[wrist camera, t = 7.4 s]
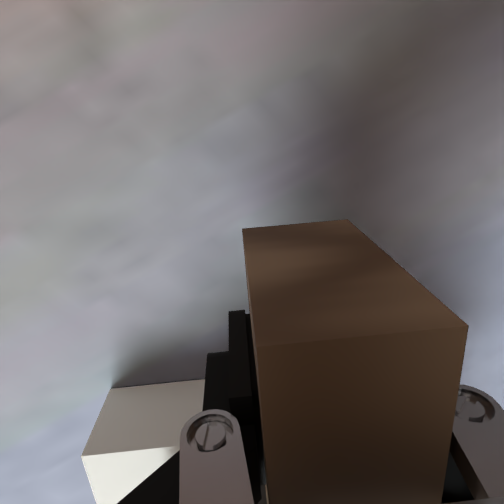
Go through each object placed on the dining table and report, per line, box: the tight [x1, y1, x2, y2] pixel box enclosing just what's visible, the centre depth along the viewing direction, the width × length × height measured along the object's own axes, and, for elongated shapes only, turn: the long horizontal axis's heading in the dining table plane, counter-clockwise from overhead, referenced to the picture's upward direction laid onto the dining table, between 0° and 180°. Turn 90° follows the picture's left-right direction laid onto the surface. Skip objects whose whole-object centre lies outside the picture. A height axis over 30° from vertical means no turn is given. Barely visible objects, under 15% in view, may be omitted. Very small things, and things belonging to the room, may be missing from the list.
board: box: [81, 379, 205, 504], centre depth 20 cm, size 16×14×4 cm
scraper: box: [242, 219, 468, 504], centre depth 10 cm, size 12×11×6 cm
